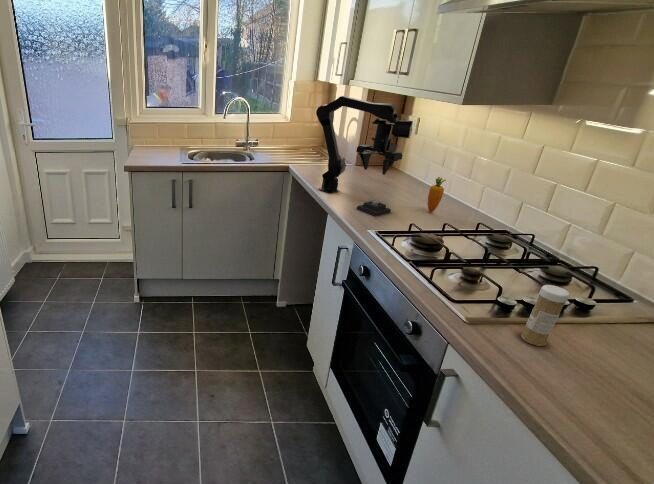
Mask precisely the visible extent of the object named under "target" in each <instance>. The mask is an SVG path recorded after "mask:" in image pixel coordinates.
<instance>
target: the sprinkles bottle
mask: <svg viewBox="0 0 654 484" xmlns="http://www.w3.org/2000/svg"><path fill="white" fill-rule="evenodd" d="M538 294H539V295H538V297H537V300H536V302H535V305H534V307H532V310H531V313H530V315H529V317H528V319H527V321H526V323H525V324H526V325H525V326H524V329H523V332H521V334H520V337H521V339H522V340H523V341H524V342H526V343H528V344H530V345H532V346H533V345H534V346H537V347H544V346H545V345H547V341H548V339H549V336H550V335H551V333H552V331H553V330H554V327H555V325H556V323H557V321H558V319H559V317H560V315H561V312H562V309H563V308H564V305H565V304H566V303H567V302H568V300H569V297H570V292H569V291H568V290H567V289H564V288H562V287H561V286H557V285H553V284H545V285H542V286H541V288H540V290H539V293H538Z"/></svg>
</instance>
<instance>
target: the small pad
mask: <svg viewBox="0 0 654 484" xmlns="http://www.w3.org/2000/svg"><path fill="white" fill-rule="evenodd" d="M372 201H373V200H369V201H365V202H363V204H362V205H363V206H364V207H367V208H369V209H372V210H375V211H377V210H381V209H385V208H387V204H386V203H385V204H384V203H382V202H379V203H378V205H376V206H375V205H372Z"/></svg>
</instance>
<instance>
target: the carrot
mask: <svg viewBox="0 0 654 484" xmlns="http://www.w3.org/2000/svg"><path fill="white" fill-rule="evenodd" d="M446 181H447V180H446V179H443V177H440V176H437V178H435V184H433V185H431V186H430V187H429V191H428V195H427V210H428V213H430V214H432V213H434V211H435V210H436V209H437V208H438V206H439V204H440V203H441V202H442V198H443V195H444V192H445V188H444V187H443V186H442V184H443V183H444V182H446Z"/></svg>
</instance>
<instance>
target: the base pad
mask: <svg viewBox="0 0 654 484" xmlns="http://www.w3.org/2000/svg"><path fill="white" fill-rule="evenodd" d="M371 201H372V205H375V206H376V205H378V203H380V201H377V200H371ZM356 210H357V211H360V212H363V213H366V214H368V215H371V216H373V217H378V216H382V215H385V214H390V213H391V211H392V208H388V207H386V208H385V209H381V210H377V211H375V210H372V209H369V208H367V207H364V206H363V204H359V205H357V206H356Z"/></svg>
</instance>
